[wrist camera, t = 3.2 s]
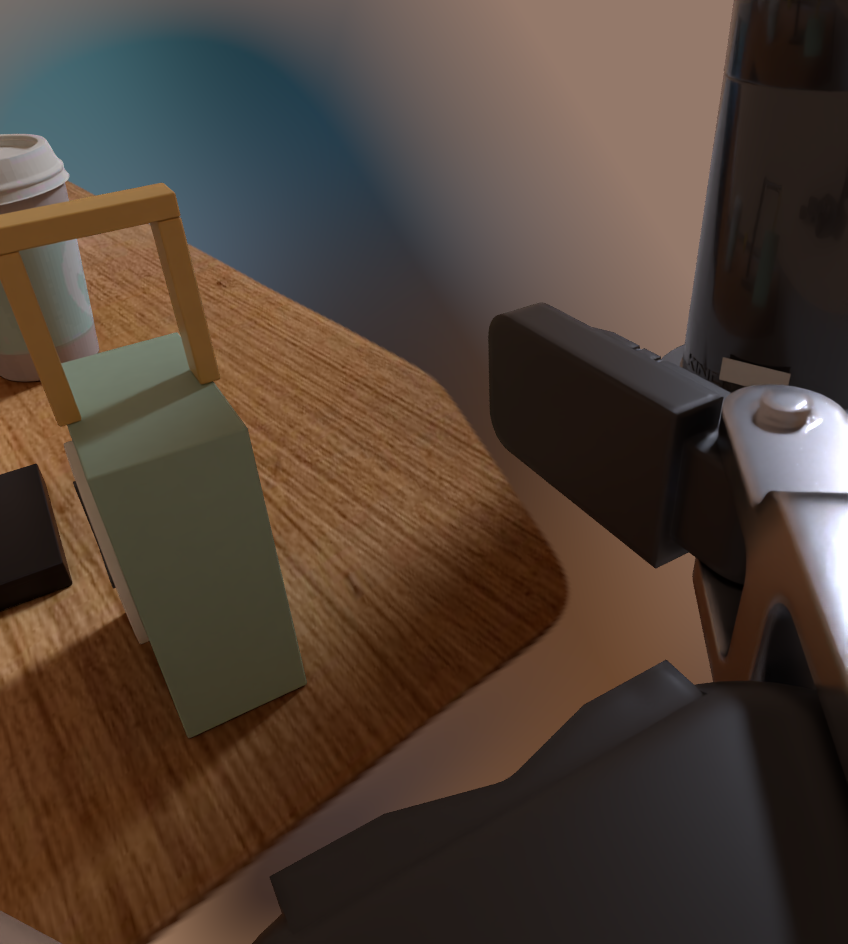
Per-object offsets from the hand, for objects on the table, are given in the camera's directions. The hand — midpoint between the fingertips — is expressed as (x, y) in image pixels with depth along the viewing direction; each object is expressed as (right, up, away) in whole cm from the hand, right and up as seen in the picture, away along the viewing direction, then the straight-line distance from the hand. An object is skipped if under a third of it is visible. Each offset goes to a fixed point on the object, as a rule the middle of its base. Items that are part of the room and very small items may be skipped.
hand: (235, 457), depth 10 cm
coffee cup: (-20, +6, +37) cm, 43 cm away
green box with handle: (-5, -6, +17) cm, 19 cm away
